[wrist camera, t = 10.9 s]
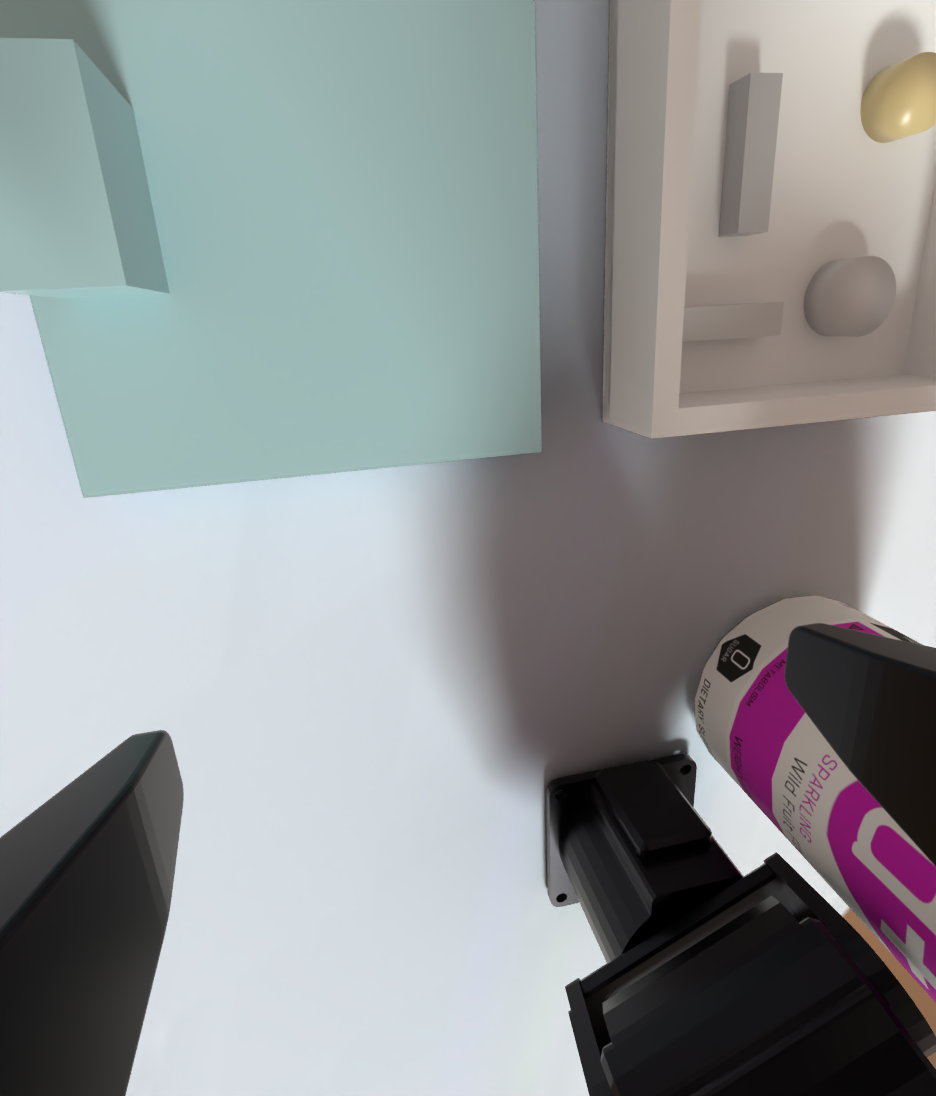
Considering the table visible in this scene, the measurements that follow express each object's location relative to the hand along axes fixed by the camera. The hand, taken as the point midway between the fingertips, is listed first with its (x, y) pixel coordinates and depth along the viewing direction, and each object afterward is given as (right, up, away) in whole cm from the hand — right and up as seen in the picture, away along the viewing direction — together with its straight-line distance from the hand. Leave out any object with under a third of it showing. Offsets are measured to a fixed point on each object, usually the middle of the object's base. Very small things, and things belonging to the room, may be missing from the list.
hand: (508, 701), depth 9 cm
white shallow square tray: (+10, +13, +12) cm, 20 cm away
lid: (-5, +11, +8) cm, 15 cm away
